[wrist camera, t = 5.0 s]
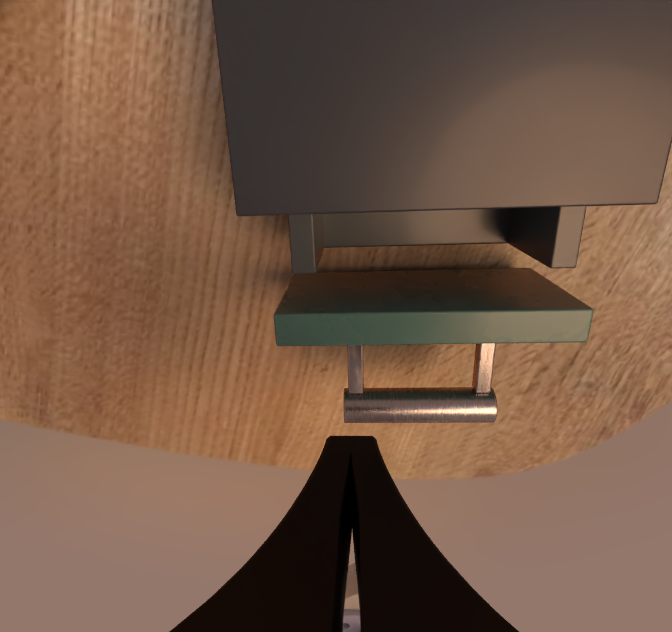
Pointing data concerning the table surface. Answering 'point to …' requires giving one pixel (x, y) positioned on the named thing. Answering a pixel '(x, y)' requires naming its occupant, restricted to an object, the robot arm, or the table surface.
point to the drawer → (431, 300)
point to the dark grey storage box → (444, 103)
